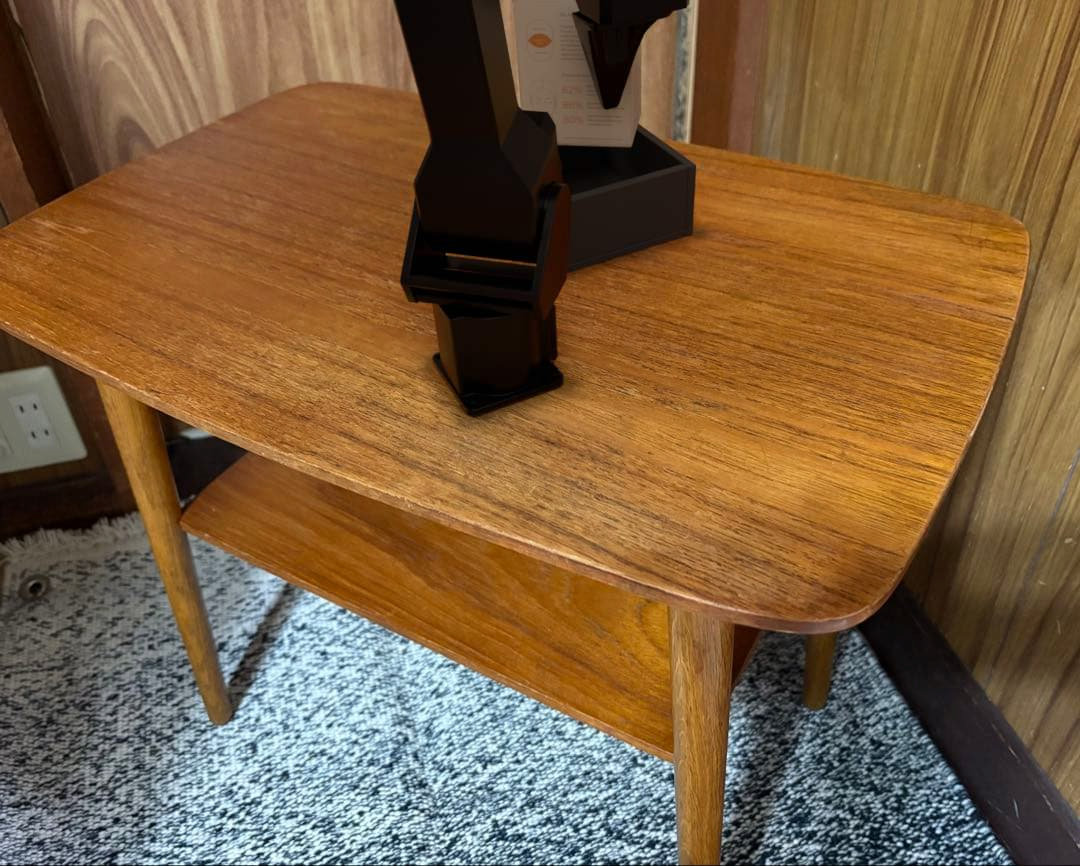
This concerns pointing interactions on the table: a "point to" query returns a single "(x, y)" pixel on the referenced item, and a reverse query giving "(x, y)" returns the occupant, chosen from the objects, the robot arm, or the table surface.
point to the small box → (569, 78)
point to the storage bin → (626, 198)
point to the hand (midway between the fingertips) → (580, 86)
